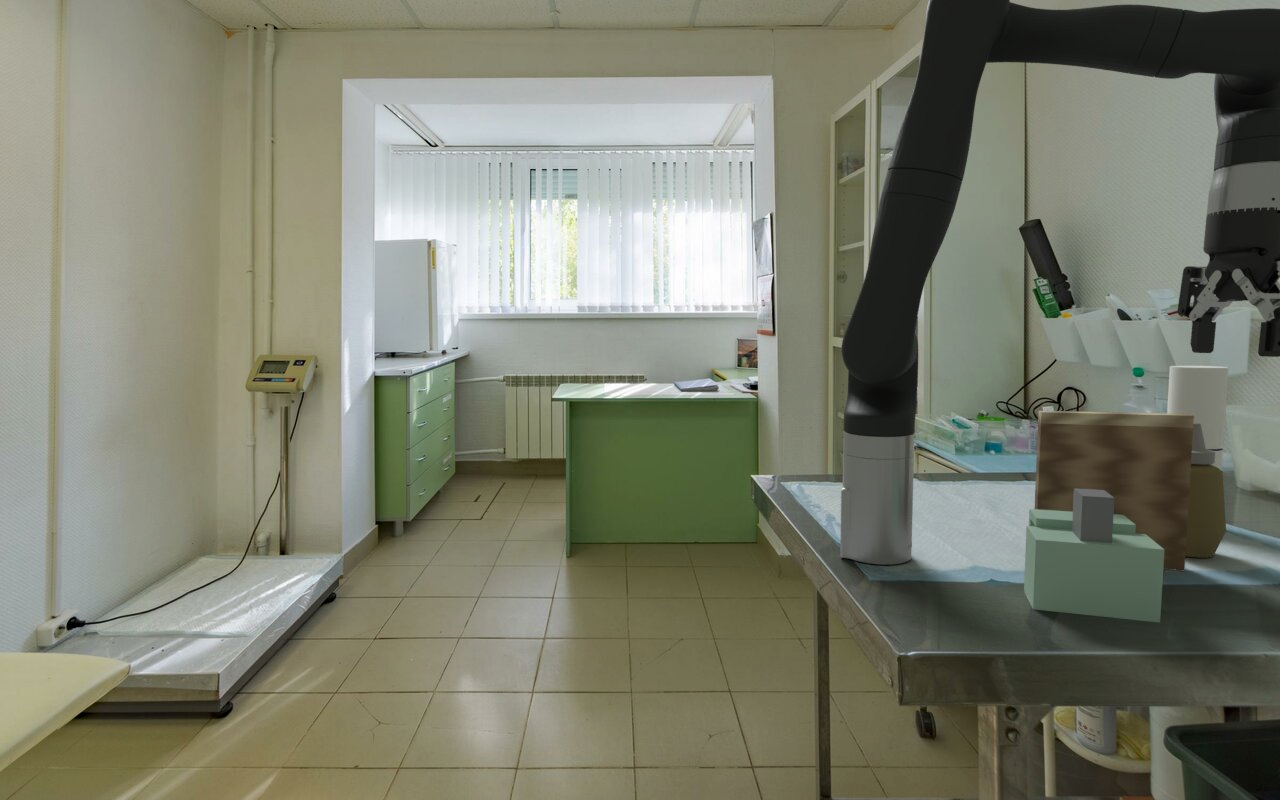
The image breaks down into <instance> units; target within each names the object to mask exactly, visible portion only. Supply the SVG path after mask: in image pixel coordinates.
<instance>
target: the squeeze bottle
mask: <svg viewBox="0 0 1280 800" xmlns="http://www.w3.org/2000/svg"><path fill="white" fill-rule="evenodd" d="M1214 463H1215V452H1214V451H1212V450H1207V449H1206V447H1205V442H1204V438H1203V433H1202V428H1201V424H1198V423H1193V439H1192V456H1191V472H1190V488H1189V504H1188V521H1187V537H1186V553H1185V557H1186V558H1187V557H1188V558H1211V557H1214V555H1215V554H1216V552H1217V550H1218V548H1219V547H1220V545H1221V542H1222V540H1223V538H1224V536H1225V534H1226V532H1227V522H1226V521H1227V520H1226V507H1225V506H1226V503H1225V501H1226V500H1225V491H1224V490H1225V487H1224V474H1223V473H1224V472H1223V470H1222V471H1221V470H1220V469H1219V468H1217V467H1215V466H1213V465H1210V464H1214Z"/></svg>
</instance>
